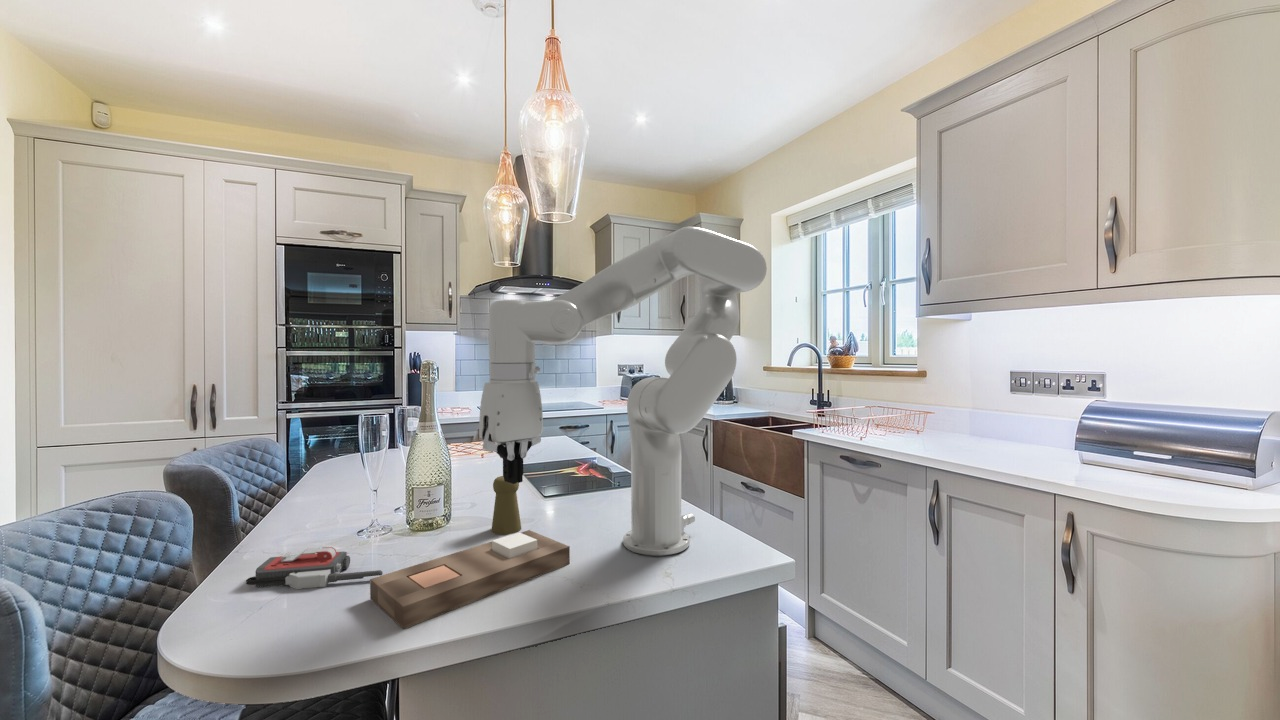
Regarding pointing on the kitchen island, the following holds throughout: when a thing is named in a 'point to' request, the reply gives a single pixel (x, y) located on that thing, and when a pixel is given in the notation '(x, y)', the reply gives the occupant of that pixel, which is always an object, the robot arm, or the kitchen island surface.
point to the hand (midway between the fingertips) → (513, 481)
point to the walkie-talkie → (306, 569)
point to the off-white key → (514, 545)
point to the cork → (505, 508)
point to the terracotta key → (433, 577)
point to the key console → (463, 579)
